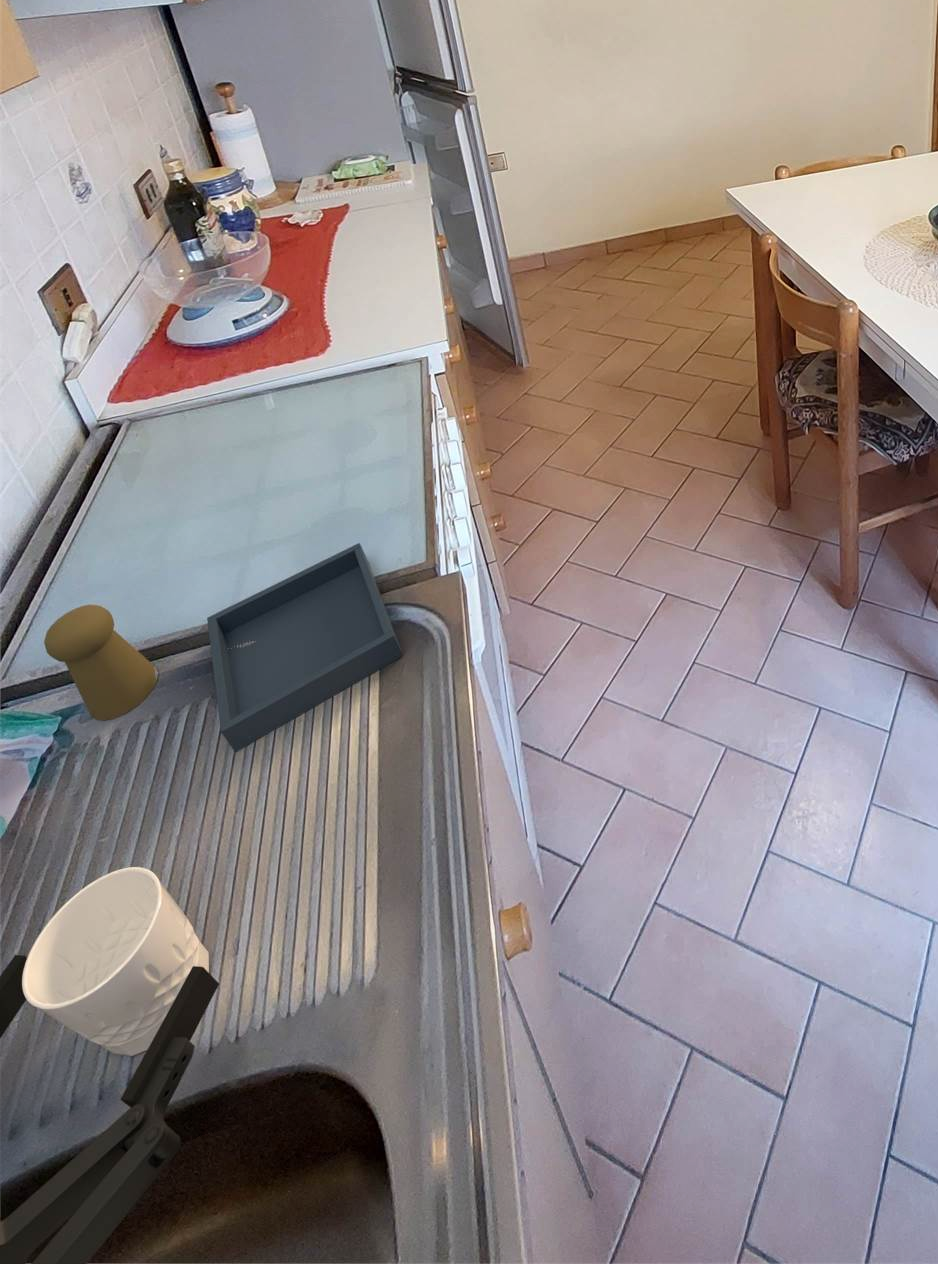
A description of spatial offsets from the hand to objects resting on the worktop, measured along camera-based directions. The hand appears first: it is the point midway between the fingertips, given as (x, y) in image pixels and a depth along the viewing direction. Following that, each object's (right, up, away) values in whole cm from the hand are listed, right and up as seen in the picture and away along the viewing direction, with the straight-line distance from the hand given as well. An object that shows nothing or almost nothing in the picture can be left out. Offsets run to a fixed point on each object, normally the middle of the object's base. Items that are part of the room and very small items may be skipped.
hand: (117, 968), depth 56 cm
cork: (-20, +5, +26) cm, 33 cm away
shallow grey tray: (-2, +9, +29) cm, 30 cm away
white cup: (+1, -5, +3) cm, 6 cm away
